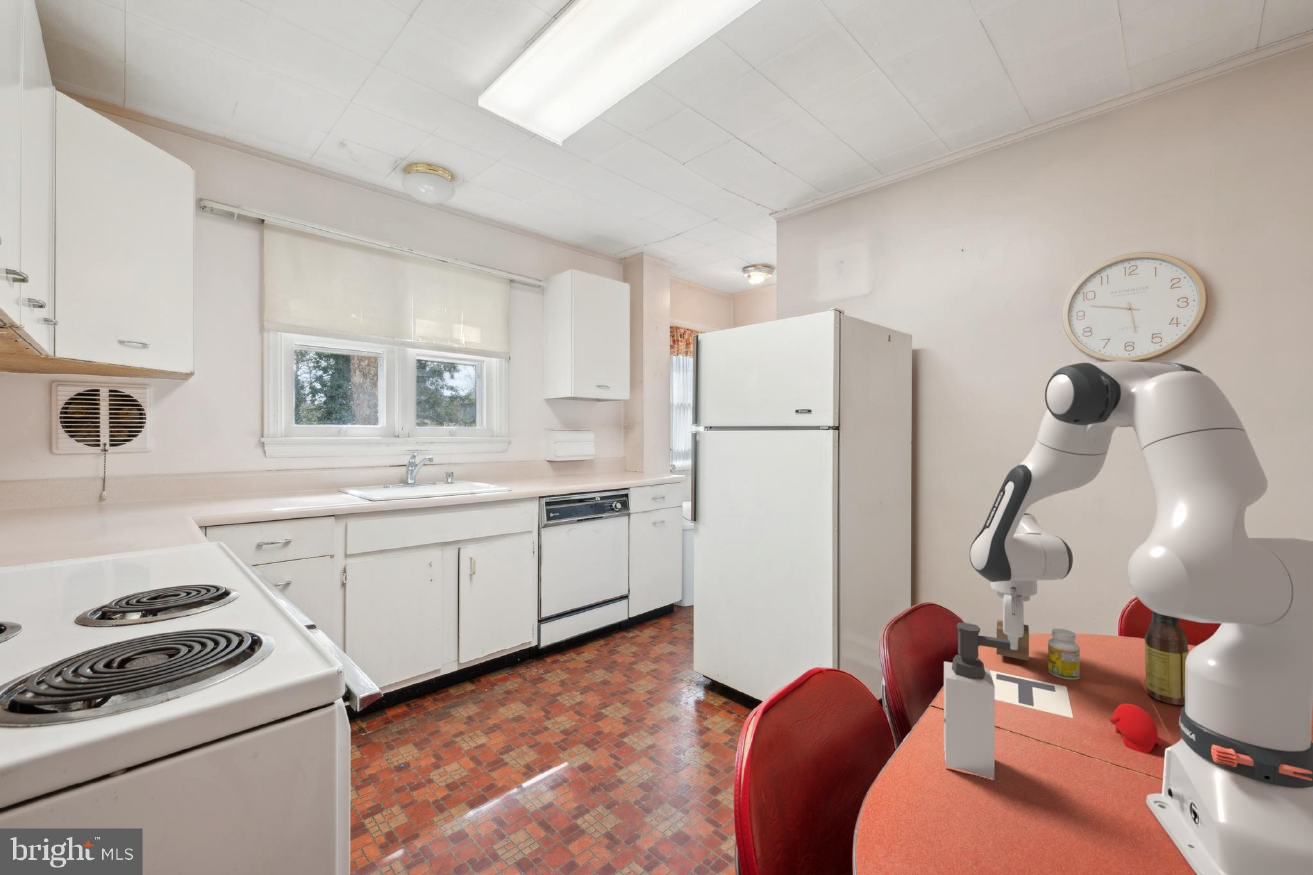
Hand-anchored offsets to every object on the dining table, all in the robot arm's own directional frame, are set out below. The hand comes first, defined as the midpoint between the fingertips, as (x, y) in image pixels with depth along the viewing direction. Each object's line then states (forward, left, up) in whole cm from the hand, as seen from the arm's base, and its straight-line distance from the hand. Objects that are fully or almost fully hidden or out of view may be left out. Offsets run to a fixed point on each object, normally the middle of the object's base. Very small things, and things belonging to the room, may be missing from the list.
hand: (1012, 642), depth 120 cm
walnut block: (0, 0, -2) cm, 2 cm away
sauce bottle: (-3, -25, -5) cm, 26 cm away
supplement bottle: (-2, -9, -5) cm, 10 cm away
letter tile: (-16, -2, -5) cm, 17 cm away
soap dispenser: (-47, +5, -5) cm, 48 cm away
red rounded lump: (-26, -17, -5) cm, 32 cm away
